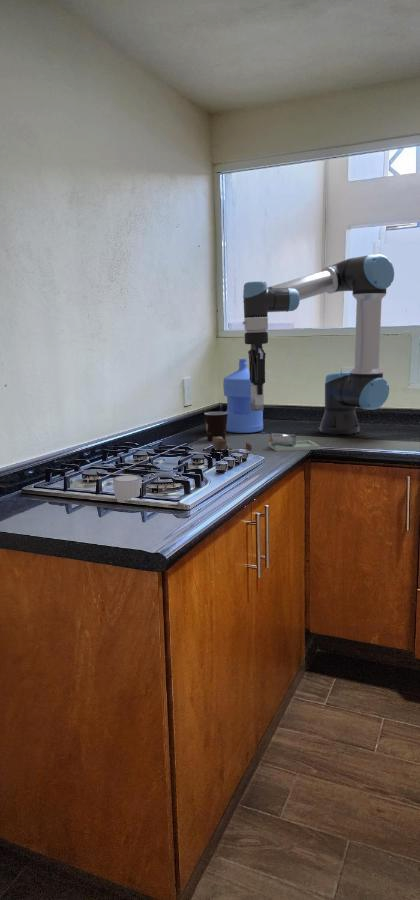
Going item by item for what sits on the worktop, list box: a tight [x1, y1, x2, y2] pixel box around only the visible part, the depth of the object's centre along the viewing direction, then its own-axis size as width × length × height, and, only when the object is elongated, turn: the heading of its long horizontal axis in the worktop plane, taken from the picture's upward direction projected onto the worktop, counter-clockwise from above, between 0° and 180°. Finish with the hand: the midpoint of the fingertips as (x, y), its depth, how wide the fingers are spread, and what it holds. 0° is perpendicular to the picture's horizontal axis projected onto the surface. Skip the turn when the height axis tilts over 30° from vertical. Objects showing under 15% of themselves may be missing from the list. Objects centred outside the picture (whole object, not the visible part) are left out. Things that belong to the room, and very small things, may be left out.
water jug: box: [222, 358, 264, 434], centre depth 237 cm, size 16×16×28 cm
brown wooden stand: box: [211, 436, 253, 450], centre depth 200 cm, size 12×9×5 cm
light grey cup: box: [112, 474, 143, 503], centre depth 141 cm, size 7×7×7 cm
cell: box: [251, 385, 264, 411], centre depth 198 cm, size 4×4×9 cm
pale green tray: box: [268, 439, 321, 452], centre depth 203 cm, size 15×10×1 cm, turn 100°
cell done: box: [268, 432, 297, 447], centre depth 202 cm, size 4×4×9 cm
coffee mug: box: [203, 411, 228, 442], centre depth 220 cm, size 12×9×10 cm
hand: (257, 403), depth 198 cm, fingers closed on cell, 4 cm apart
